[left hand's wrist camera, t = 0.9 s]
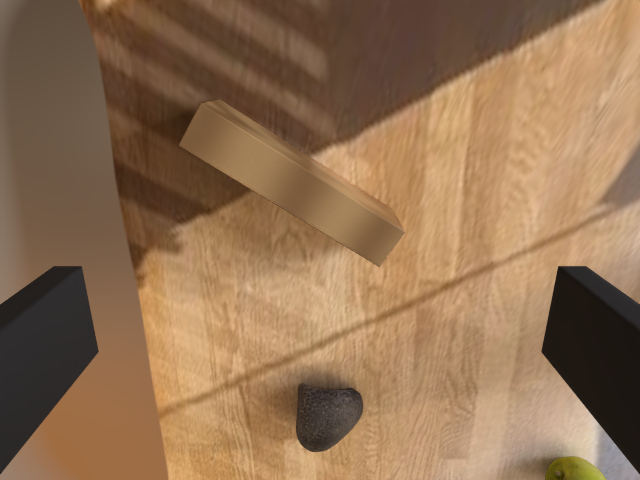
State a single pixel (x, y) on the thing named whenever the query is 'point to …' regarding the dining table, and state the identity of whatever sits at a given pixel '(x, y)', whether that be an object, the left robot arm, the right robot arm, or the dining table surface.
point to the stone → (326, 416)
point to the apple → (573, 470)
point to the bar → (292, 180)
